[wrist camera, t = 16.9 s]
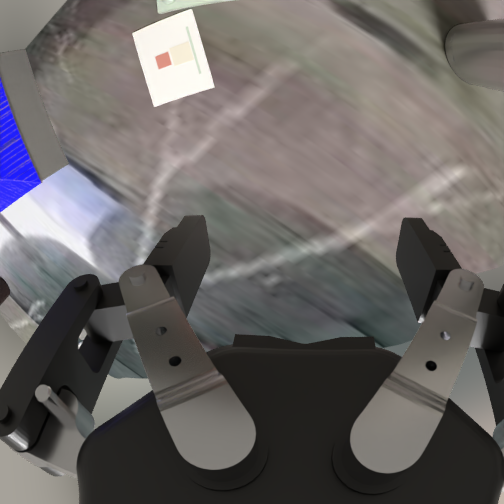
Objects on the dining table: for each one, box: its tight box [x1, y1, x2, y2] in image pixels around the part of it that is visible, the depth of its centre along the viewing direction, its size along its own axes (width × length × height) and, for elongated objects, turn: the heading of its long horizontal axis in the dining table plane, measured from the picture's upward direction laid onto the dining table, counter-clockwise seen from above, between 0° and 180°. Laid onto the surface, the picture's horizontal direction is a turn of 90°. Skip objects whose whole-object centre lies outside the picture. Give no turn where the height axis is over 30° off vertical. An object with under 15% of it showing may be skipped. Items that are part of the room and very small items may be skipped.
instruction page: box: [132, 9, 215, 107], centre depth 34 cm, size 9×12×1 cm
